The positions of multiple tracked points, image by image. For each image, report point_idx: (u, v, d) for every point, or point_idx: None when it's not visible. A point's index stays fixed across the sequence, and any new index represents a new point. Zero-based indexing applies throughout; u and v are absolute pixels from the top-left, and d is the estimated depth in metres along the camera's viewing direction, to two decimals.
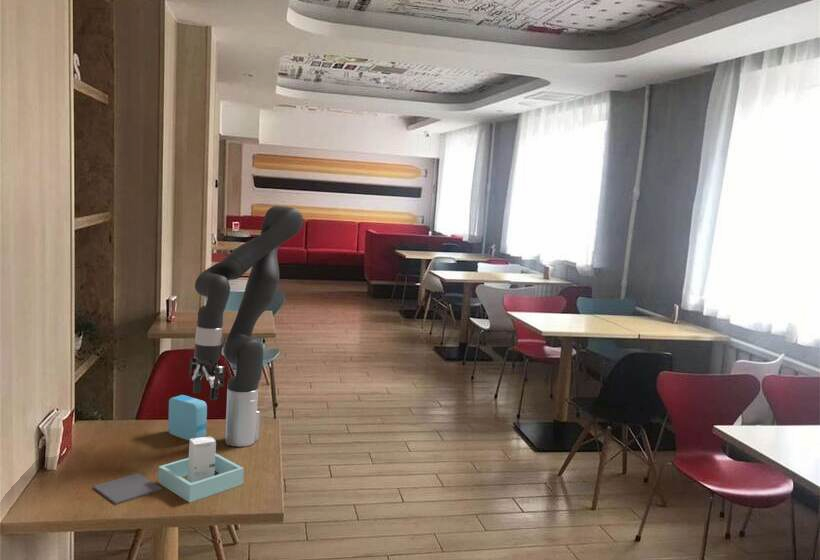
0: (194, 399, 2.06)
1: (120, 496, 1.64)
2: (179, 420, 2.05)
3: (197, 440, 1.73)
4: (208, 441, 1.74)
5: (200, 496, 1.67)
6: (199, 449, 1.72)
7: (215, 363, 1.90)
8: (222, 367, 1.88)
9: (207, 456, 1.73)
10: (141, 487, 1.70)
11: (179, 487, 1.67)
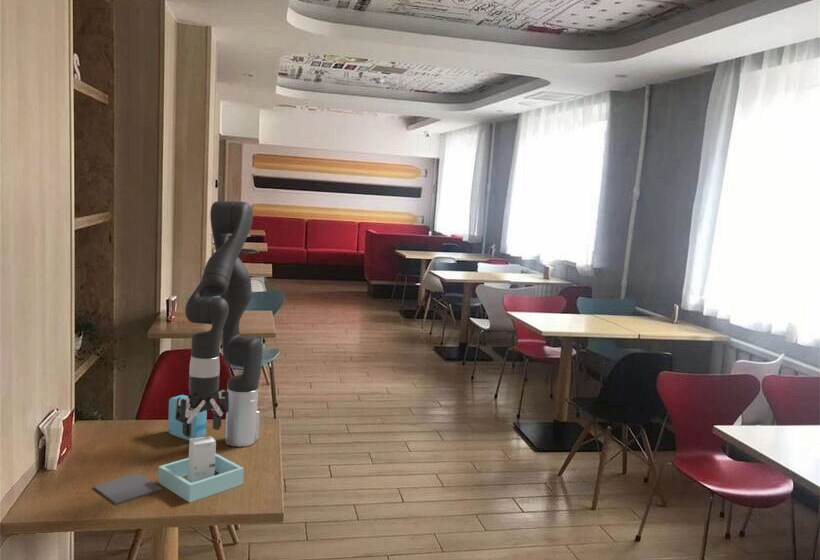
0: None
1: (120, 496, 1.64)
2: None
3: (197, 440, 1.73)
4: (208, 441, 1.74)
5: (200, 496, 1.67)
6: (199, 449, 1.72)
7: None
8: None
9: (207, 456, 1.73)
10: (141, 487, 1.70)
11: (179, 487, 1.67)
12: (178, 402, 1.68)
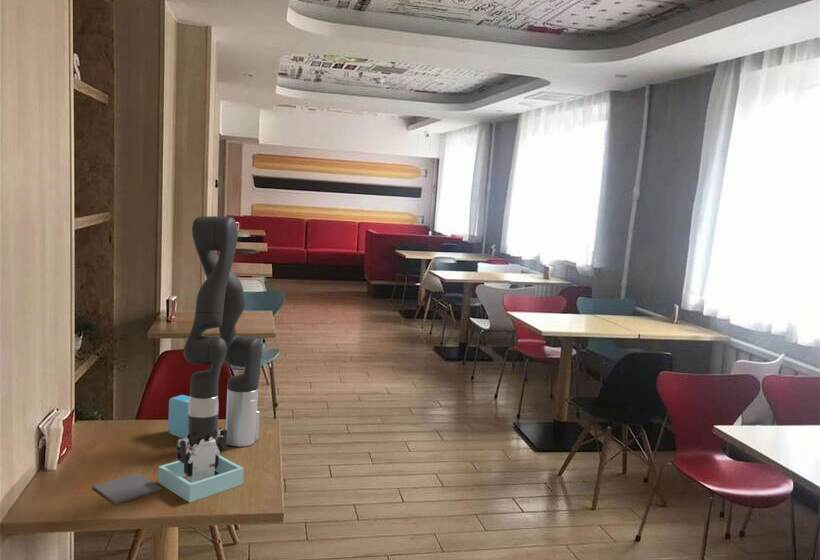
0: None
1: (120, 496, 1.64)
2: (179, 420, 2.05)
3: None
4: (208, 441, 1.74)
5: (200, 496, 1.67)
6: None
7: None
8: None
9: (207, 456, 1.73)
10: (141, 487, 1.70)
11: (179, 487, 1.67)
12: (177, 443, 1.69)
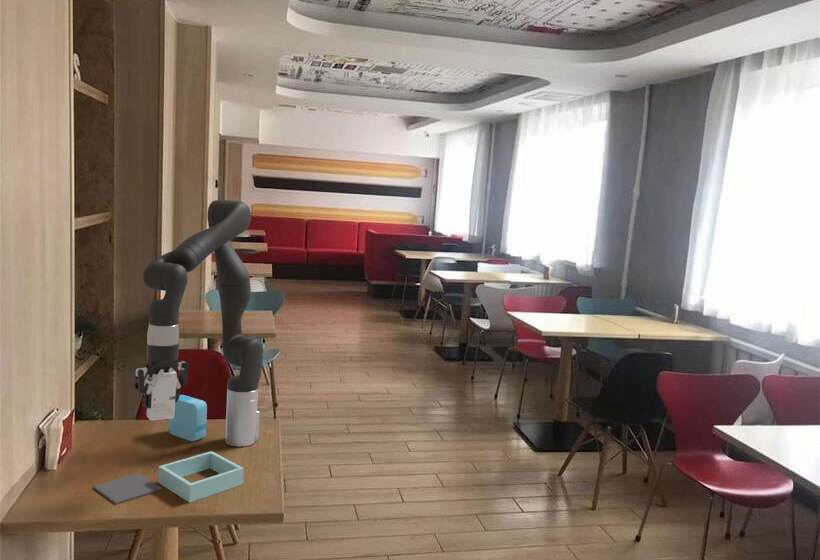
0: (194, 399, 2.06)
1: (120, 496, 1.64)
2: (179, 420, 2.05)
3: None
4: (168, 372, 1.67)
5: (200, 496, 1.67)
6: (159, 380, 1.66)
7: None
8: None
9: (167, 388, 1.67)
10: (141, 487, 1.70)
11: (179, 487, 1.67)
12: (135, 373, 1.63)
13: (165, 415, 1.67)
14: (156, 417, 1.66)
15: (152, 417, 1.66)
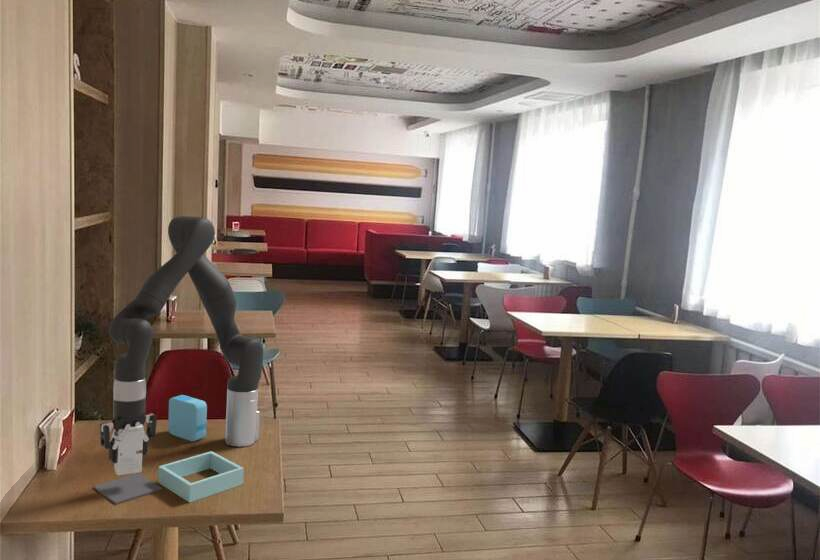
0: (194, 399, 2.06)
1: (120, 496, 1.64)
2: (179, 420, 2.05)
3: None
4: (135, 426, 1.67)
5: (200, 496, 1.67)
6: (125, 434, 1.65)
7: None
8: None
9: (134, 442, 1.67)
10: (141, 487, 1.70)
11: (179, 487, 1.67)
12: (101, 428, 1.62)
13: (132, 469, 1.67)
14: (123, 472, 1.66)
15: (119, 472, 1.65)
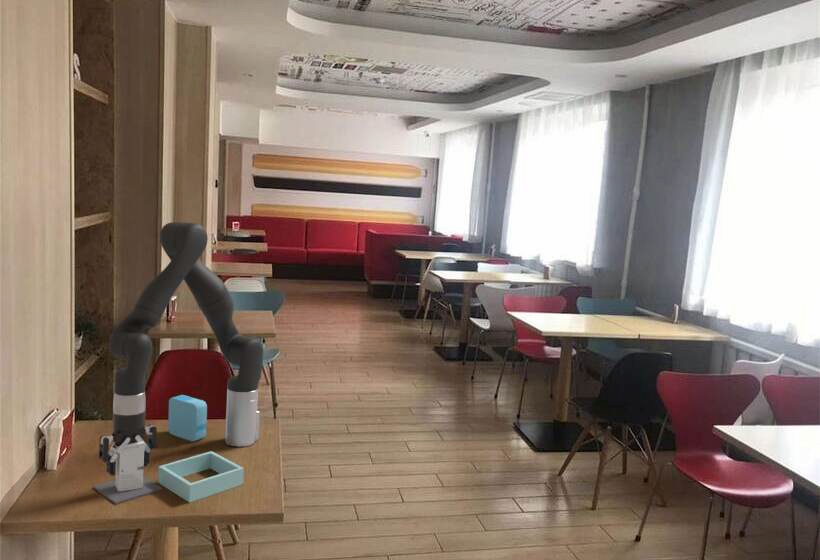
0: (194, 399, 2.06)
1: (120, 496, 1.64)
2: (179, 420, 2.05)
3: None
4: (136, 442, 1.68)
5: (200, 496, 1.67)
6: (126, 451, 1.66)
7: None
8: None
9: (135, 458, 1.67)
10: None
11: (179, 487, 1.67)
12: (100, 441, 1.63)
13: (133, 486, 1.68)
14: (124, 488, 1.67)
15: (120, 488, 1.66)
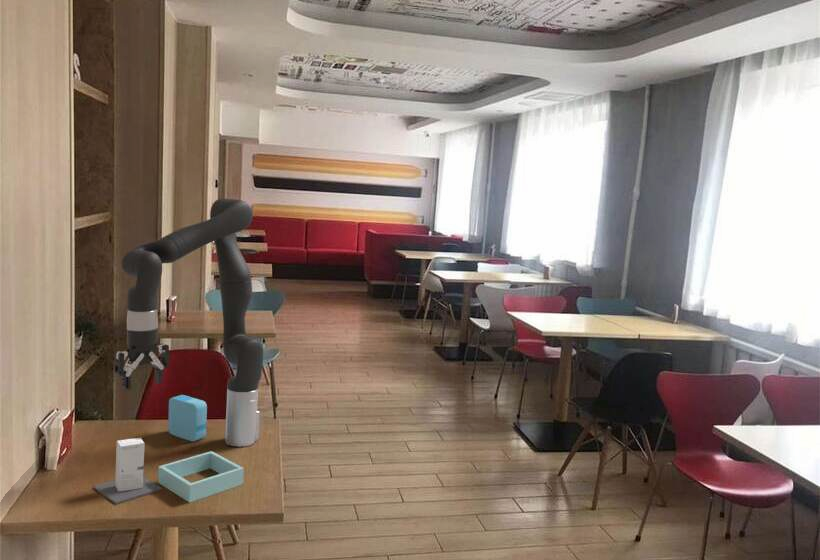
0: (194, 399, 2.06)
1: (120, 496, 1.64)
2: (179, 420, 2.05)
3: (124, 442, 1.67)
4: (136, 442, 1.68)
5: (200, 496, 1.67)
6: (126, 451, 1.66)
7: None
8: None
9: (135, 458, 1.67)
10: None
11: (179, 487, 1.67)
12: (116, 356, 1.69)
13: (133, 486, 1.68)
14: (124, 488, 1.67)
15: (120, 488, 1.66)
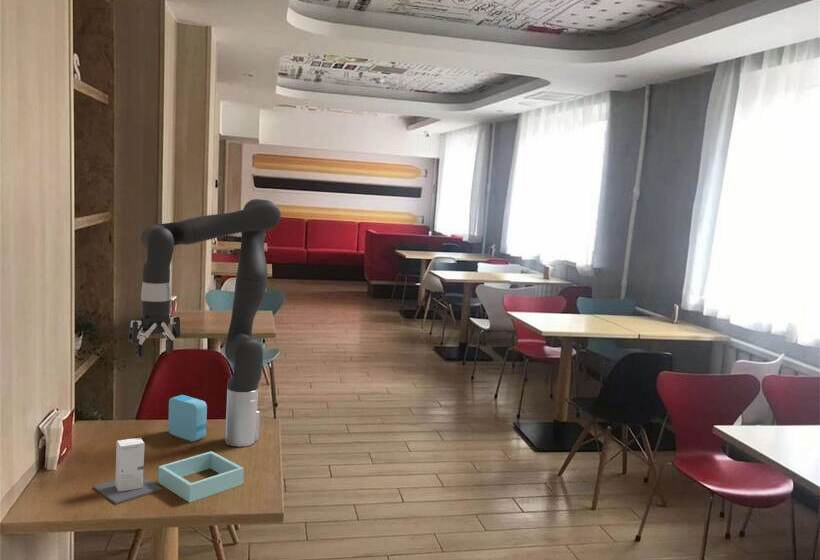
0: (194, 399, 2.06)
1: (120, 496, 1.64)
2: (179, 420, 2.05)
3: (124, 442, 1.67)
4: (136, 442, 1.68)
5: (200, 496, 1.67)
6: (126, 451, 1.66)
7: None
8: None
9: (135, 458, 1.67)
10: None
11: (179, 487, 1.67)
12: (130, 324, 1.80)
13: (133, 486, 1.68)
14: (124, 488, 1.67)
15: (120, 488, 1.66)
